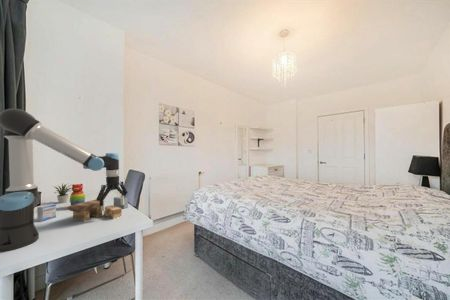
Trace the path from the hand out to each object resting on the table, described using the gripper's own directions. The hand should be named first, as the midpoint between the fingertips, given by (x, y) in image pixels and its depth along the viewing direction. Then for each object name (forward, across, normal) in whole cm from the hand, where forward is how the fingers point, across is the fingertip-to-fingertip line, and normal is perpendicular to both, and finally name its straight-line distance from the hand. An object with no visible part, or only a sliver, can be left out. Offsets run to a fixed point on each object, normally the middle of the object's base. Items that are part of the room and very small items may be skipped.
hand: (113, 207), depth 126 cm
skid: (+6, 0, 0) cm, 6 cm away
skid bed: (+5, -8, +13) cm, 17 cm away
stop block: (+6, +15, +13) cm, 21 cm away
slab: (-1, -8, +13) cm, 16 cm away
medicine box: (+5, -21, +33) cm, 40 cm away
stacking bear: (+6, +1, +42) cm, 43 cm away
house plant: (+5, +2, +66) cm, 66 cm away
